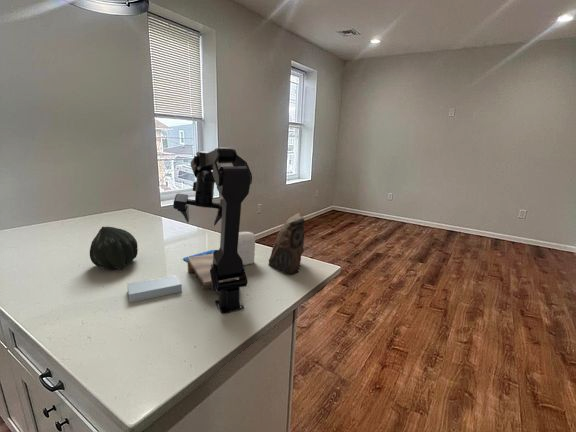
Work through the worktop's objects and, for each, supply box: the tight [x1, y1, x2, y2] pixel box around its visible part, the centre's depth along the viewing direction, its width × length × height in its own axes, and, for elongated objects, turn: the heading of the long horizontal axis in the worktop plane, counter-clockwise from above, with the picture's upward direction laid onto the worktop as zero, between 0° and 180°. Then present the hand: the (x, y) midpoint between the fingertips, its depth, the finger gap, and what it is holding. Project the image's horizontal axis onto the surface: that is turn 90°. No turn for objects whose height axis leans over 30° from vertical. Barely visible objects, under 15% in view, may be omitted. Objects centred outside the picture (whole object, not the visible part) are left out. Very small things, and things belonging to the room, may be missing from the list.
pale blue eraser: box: [126, 274, 183, 303], centre depth 91 cm, size 7×14×2 cm, turn 121°
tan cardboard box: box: [186, 254, 239, 290], centre depth 100 cm, size 20×11×5 cm, turn 31°
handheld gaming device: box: [182, 249, 216, 263], centre depth 118 cm, size 8×1×15 cm
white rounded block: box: [237, 231, 256, 266], centre depth 113 cm, size 10×4×12 cm, turn 123°
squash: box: [89, 226, 139, 271], centre depth 106 cm, size 14×15×15 cm
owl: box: [267, 211, 306, 276], centre depth 110 cm, size 13×13×20 cm
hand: (201, 223), depth 110 cm, fingers open, 9 cm apart
